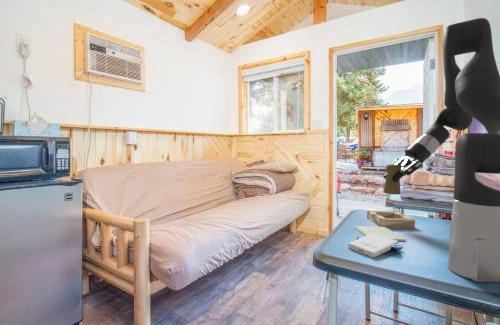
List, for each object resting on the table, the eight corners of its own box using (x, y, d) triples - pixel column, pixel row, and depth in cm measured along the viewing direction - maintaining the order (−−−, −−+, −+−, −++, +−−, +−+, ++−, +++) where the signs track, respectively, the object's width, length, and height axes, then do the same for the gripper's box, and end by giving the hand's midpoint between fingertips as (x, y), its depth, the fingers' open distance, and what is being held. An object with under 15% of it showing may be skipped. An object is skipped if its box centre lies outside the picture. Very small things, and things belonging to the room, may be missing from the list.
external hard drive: (398, 246, 77) (374, 258, 70) (372, 237, 83) (347, 247, 76) (398, 241, 76) (374, 252, 70) (372, 232, 83) (347, 242, 76)
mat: (405, 241, 83) (405, 239, 83) (371, 240, 83) (371, 238, 83) (385, 228, 95) (385, 226, 95) (355, 228, 95) (355, 226, 94)
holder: (414, 228, 96) (415, 219, 96) (382, 227, 96) (382, 219, 96) (395, 218, 108) (396, 211, 108) (366, 218, 108) (367, 210, 108)
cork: (404, 194, 98) (406, 165, 97) (387, 194, 98) (389, 164, 97) (395, 191, 104) (397, 164, 103) (380, 191, 104) (381, 163, 103)
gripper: (404, 141, 107) (373, 170, 107) (428, 141, 93) (393, 174, 93) (416, 155, 107) (385, 183, 108) (442, 156, 93) (407, 189, 94)
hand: (389, 179), depth 101 cm, fingers closed on cork, 5 cm apart
